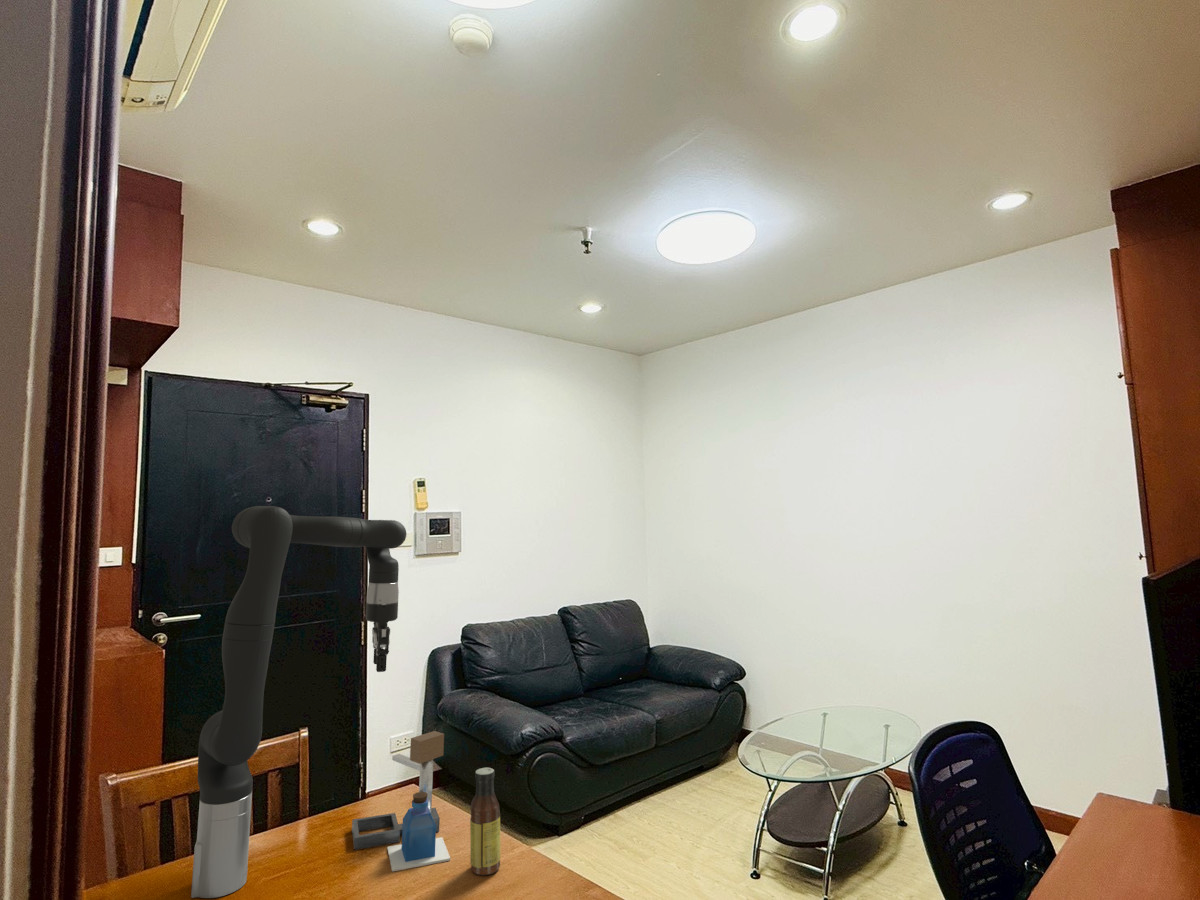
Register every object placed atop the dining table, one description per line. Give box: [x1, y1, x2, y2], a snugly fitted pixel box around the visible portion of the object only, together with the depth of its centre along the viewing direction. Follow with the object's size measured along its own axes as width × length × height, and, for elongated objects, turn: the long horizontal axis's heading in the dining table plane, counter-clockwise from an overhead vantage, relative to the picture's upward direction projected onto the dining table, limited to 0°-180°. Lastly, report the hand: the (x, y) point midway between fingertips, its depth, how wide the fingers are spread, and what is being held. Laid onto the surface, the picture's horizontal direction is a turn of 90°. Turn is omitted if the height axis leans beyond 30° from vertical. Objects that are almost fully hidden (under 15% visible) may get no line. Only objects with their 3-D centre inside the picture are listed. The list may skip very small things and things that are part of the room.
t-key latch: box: [391, 730, 445, 813], centre depth 161 cm, size 14×7×18 cm, turn 53°
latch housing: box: [351, 807, 441, 851], centre depth 154 cm, size 19×10×3 cm, turn 113°
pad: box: [387, 836, 451, 873], centre depth 144 cm, size 12×10×1 cm
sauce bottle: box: [469, 767, 502, 876], centre depth 140 cm, size 7×6×20 cm
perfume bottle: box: [401, 791, 437, 862], centre depth 145 cm, size 6×6×12 cm
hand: (379, 667), depth 163 cm, fingers open, 8 cm apart
